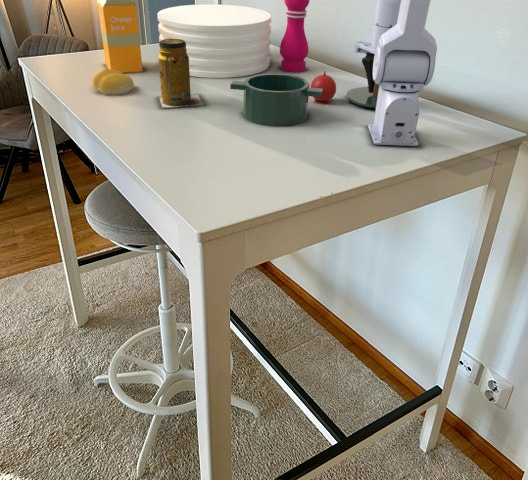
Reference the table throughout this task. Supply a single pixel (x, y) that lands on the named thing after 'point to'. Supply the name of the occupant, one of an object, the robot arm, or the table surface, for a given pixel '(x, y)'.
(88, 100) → the table surface
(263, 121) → the pot
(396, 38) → the robot arm
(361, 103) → the lid
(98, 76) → the bread roll
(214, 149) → the table surface
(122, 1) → the orange juice
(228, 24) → the plate stack
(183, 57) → the condiment
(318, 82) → the apple
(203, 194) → the table surface
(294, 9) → the pepper mill
